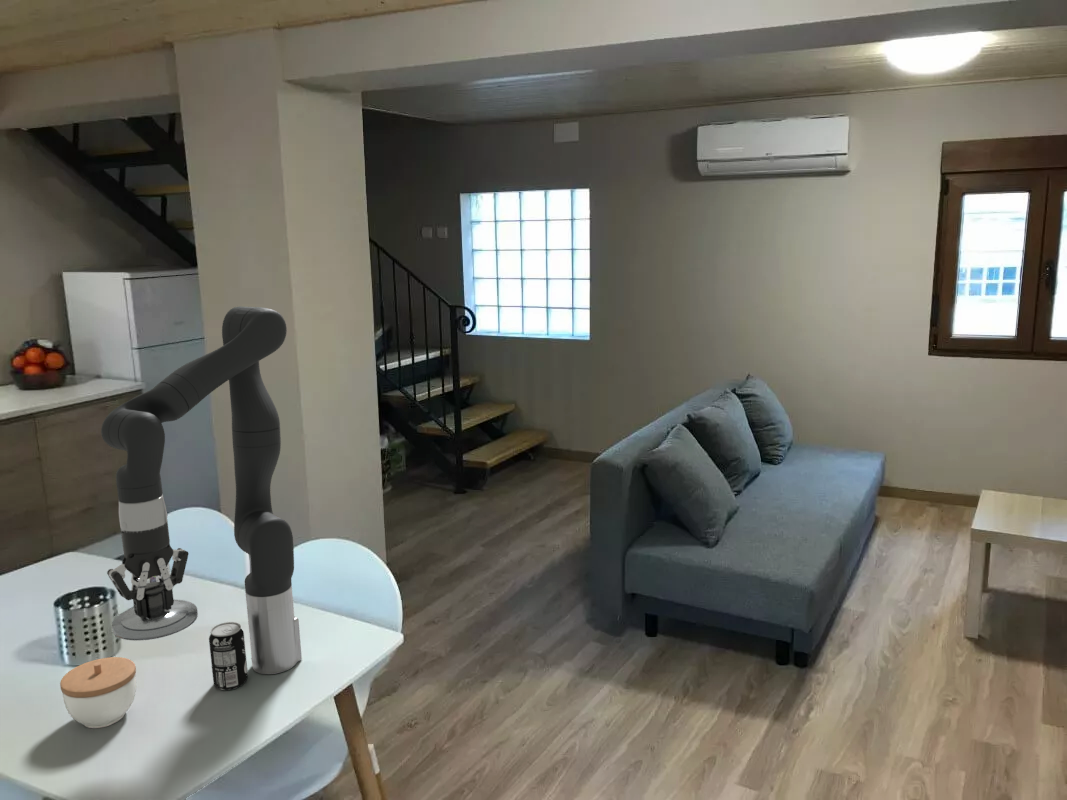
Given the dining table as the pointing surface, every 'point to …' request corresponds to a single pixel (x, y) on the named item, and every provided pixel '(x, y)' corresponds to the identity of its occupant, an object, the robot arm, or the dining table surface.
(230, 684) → the beverage can
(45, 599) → the dining table surface
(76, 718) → the lidded bowl
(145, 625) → the steel lid
